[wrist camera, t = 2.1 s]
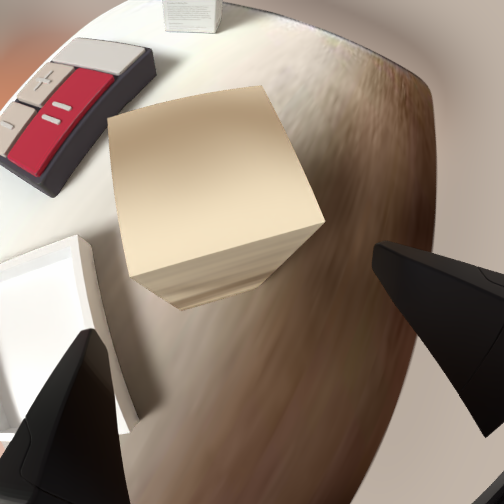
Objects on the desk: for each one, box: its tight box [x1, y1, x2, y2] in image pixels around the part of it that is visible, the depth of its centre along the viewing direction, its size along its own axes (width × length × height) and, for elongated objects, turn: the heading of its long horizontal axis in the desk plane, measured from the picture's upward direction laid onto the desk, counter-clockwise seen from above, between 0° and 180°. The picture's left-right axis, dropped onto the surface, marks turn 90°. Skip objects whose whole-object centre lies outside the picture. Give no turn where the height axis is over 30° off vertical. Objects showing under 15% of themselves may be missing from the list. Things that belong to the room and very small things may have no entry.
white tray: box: [0, 234, 139, 441], centre depth 14 cm, size 12×12×2 cm
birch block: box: [107, 86, 325, 311], centre depth 13 cm, size 5×5×12 cm
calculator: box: [0, 38, 156, 198], centre depth 19 cm, size 11×4×15 cm
